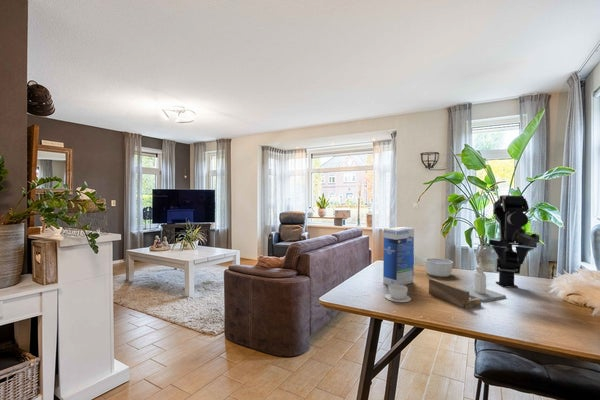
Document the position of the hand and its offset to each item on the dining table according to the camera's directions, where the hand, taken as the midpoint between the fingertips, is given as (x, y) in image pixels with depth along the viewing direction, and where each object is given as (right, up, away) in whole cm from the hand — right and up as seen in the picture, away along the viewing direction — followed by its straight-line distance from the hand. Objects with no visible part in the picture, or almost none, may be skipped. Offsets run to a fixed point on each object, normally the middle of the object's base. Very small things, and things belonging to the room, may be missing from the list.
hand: (511, 264), depth 121 cm
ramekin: (-15, -13, +33) cm, 38 cm away
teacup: (-48, -14, -3) cm, 50 cm away
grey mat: (-13, -13, +1) cm, 18 cm away
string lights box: (-41, -13, +17) cm, 46 cm away
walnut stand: (-26, -13, -4) cm, 29 cm away
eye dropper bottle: (-13, -12, +1) cm, 18 cm away
